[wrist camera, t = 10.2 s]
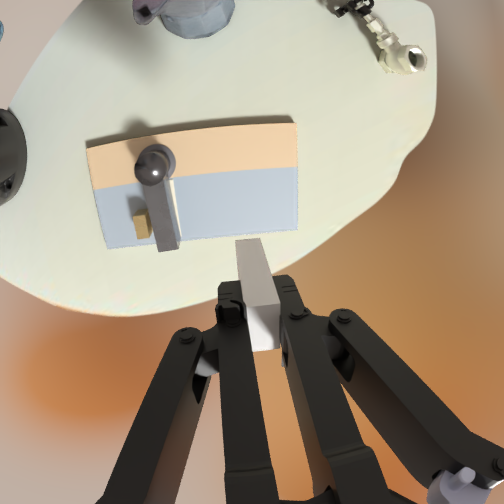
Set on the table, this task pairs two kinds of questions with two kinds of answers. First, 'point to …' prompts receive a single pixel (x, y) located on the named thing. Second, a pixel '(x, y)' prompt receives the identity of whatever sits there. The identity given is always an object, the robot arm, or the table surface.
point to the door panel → (203, 181)
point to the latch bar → (159, 198)
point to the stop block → (142, 224)
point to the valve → (387, 42)
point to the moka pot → (186, 15)
